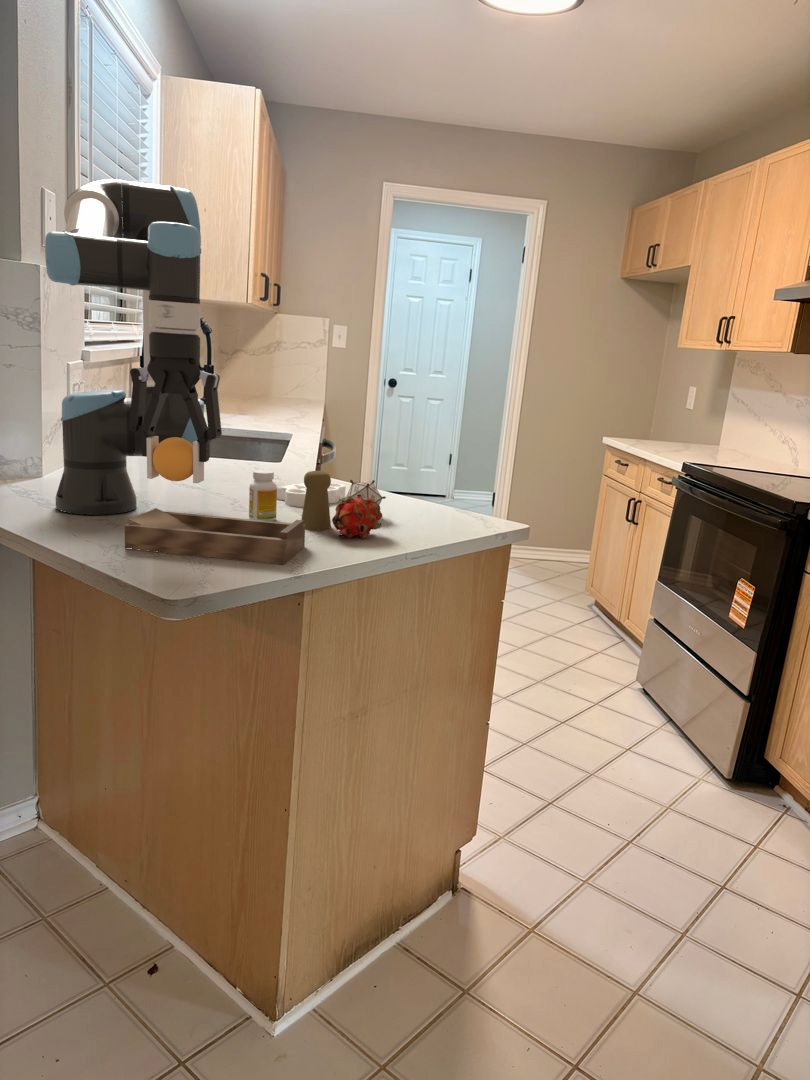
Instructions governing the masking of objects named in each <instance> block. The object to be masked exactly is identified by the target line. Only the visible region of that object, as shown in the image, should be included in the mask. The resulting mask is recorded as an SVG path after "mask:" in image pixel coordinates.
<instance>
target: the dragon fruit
mask: <svg viewBox="0 0 810 1080" xmlns="http://www.w3.org/2000/svg"><path fill="white" fill-rule="evenodd" d="M344 501H345V502H343V503H342V502H340V503H338V504H337V505H336V506H335V509H334V510H335V515H334V516H333V517H332V518H331V523H332V525H333V526H334V528H335V530H336V531H338V533H339V534H338V536H337V537H339V538H346V539H351V538H352V537H355V536H359V537H360V538H361V539H362V540H365V538H366V537H368V536H370V532H371V530H378V529H381V527H382V523H379V522H380V521H381V520H383V513H382V512H381V506H380V505H379V504H377V503H375V499H374V498H368V499H367V500H365V499H363V498H362V496H361V495H357V498H356V499H353V498H349V497H348V498H347V499H346V500H345V499H344Z"/></svg>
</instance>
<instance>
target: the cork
mask: <svg viewBox="0 0 810 1080" xmlns="http://www.w3.org/2000/svg"><path fill="white" fill-rule="evenodd" d="M303 483H304V484H305V486H306V488H307V489H306V495H305V501H304V507H303V508H302V513H301V514H302V515H301V519H300V520H304V524H305V530H308V531H317V532H318V531H327V530H330V529H331V528H332V525H331V524H332V520H331V515H330V514H331V512H330V503H329V499H328V488H329V486H330V484H331V483H332V478H331V475H330V473H328V472H326V471H323V470H310V471H307V472H306V473H305V474H304V476H303Z"/></svg>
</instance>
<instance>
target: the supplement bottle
mask: <svg viewBox="0 0 810 1080" xmlns="http://www.w3.org/2000/svg"><path fill="white" fill-rule="evenodd" d="M252 473H253V474H252V477H253V480H254V481H253V480H252V481H251V482H250V483H249V487H248V488H249V489H248V490H249V495H248V496H249V498H248V501H249V502H248V503H249V504H248V519H251V520H262V521H273V522H275V521H276V520H277V503H278V502H277V501H278V499H277V487H278V486H277V484H276V483H275V482H274V481H273V480H274V478H275V476H274V475H275V474H274V471H271V470H265V469H259V470H258V469H257V470H254V471H253V472H252Z"/></svg>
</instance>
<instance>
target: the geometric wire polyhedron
mask: <svg viewBox="0 0 810 1080" xmlns="http://www.w3.org/2000/svg"><path fill="white" fill-rule="evenodd" d="M349 482H350V483H351V485H350V487H349V490H348V492H347V494H346V495H345V499H341V501H340V503H343V502H345V500H346V499H347V498H348V497H349V498H353V499H356V498H357V495H361V496H362V498H363V499H365V500H367V499H368V498H374V499H375V503H377V504H379V506H380V505H381V502H382V500H384V499H386V498H387V497H386V496H384V495H381V493H380V492H379V490H378V489H377V488H376V486H375V485H374V483H376V480H375V479H373V480H372V481H371V482H354V481H353V479H350V480H349Z"/></svg>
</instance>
